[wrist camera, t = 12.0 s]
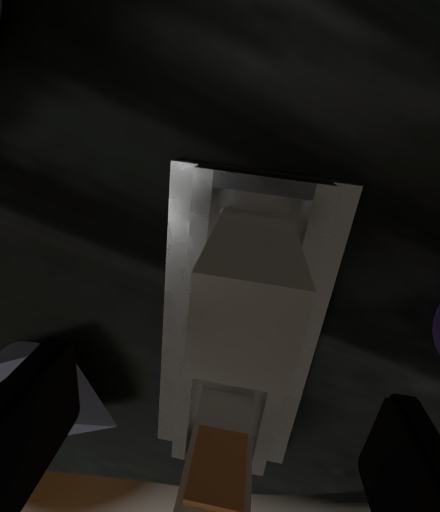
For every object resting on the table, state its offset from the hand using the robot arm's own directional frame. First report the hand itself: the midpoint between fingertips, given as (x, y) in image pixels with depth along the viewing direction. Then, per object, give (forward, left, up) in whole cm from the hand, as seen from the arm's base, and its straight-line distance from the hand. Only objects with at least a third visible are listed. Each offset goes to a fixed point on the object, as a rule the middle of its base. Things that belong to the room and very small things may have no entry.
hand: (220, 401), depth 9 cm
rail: (0, -8, -15) cm, 17 cm away
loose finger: (0, 0, -13) cm, 13 cm away
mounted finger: (+1, -16, -13) cm, 21 cm away
